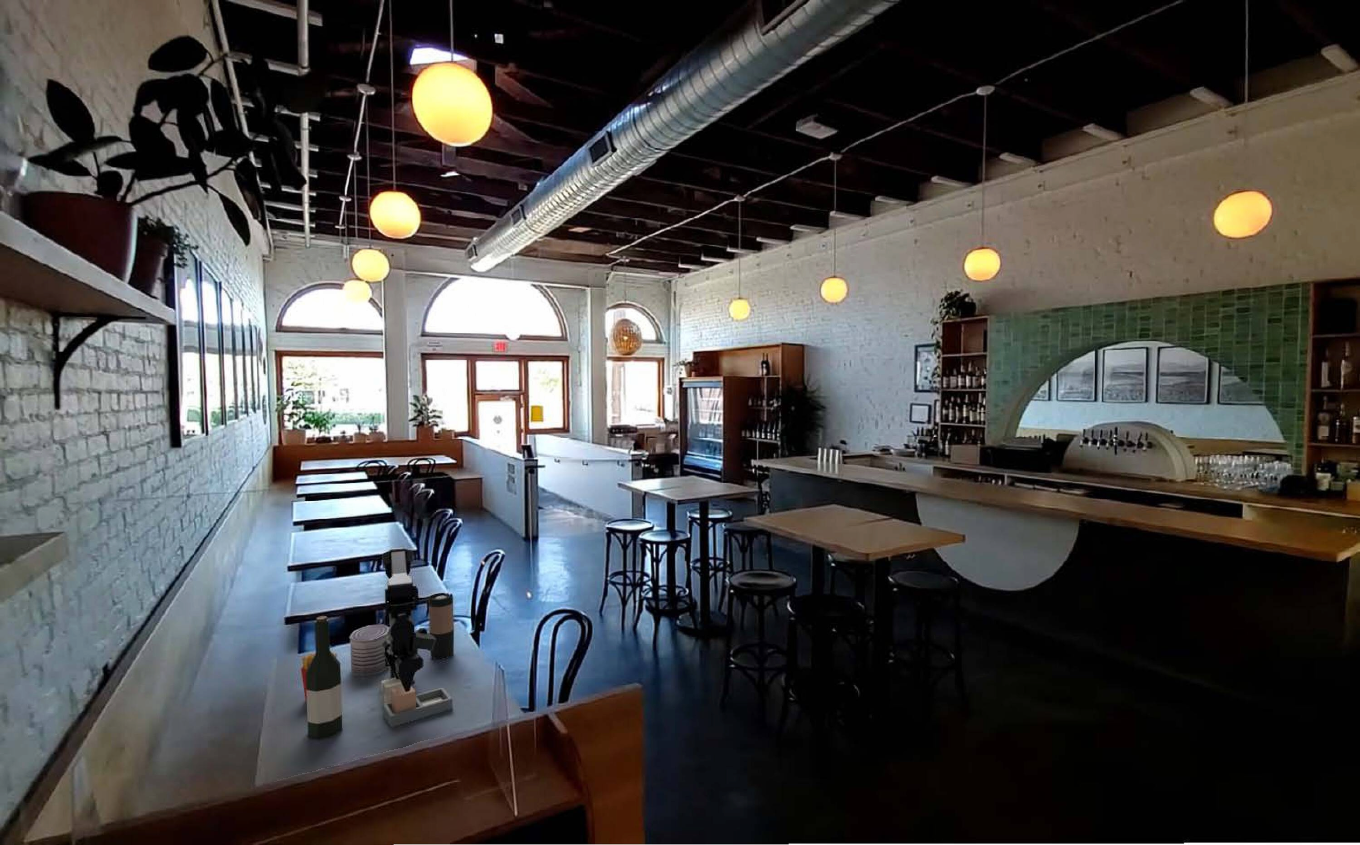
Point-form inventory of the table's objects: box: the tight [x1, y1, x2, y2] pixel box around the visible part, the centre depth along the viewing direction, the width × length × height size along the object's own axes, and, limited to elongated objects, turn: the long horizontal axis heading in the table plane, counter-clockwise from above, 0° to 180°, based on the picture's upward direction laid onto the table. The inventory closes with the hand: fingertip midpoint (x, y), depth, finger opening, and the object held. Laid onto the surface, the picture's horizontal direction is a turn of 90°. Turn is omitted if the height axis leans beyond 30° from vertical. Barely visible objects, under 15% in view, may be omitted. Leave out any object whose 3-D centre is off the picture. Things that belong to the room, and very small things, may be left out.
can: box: [348, 623, 390, 677], centre depth 205 cm, size 11×11×12 cm
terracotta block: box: [391, 685, 417, 714], centre depth 175 cm, size 5×5×6 cm
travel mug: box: [428, 592, 455, 660], centre depth 215 cm, size 8×8×20 cm
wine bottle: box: [306, 615, 343, 740], centre depth 167 cm, size 8×8×30 cm
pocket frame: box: [382, 687, 454, 728], centre depth 178 cm, size 8×16×3 cm, turn 127°
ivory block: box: [381, 677, 403, 705], centre depth 183 cm, size 5×5×6 cm
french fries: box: [300, 652, 338, 702], centre depth 185 cm, size 9×4×13 cm, turn 99°
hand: (402, 685), depth 175 cm, fingers open, 9 cm apart
